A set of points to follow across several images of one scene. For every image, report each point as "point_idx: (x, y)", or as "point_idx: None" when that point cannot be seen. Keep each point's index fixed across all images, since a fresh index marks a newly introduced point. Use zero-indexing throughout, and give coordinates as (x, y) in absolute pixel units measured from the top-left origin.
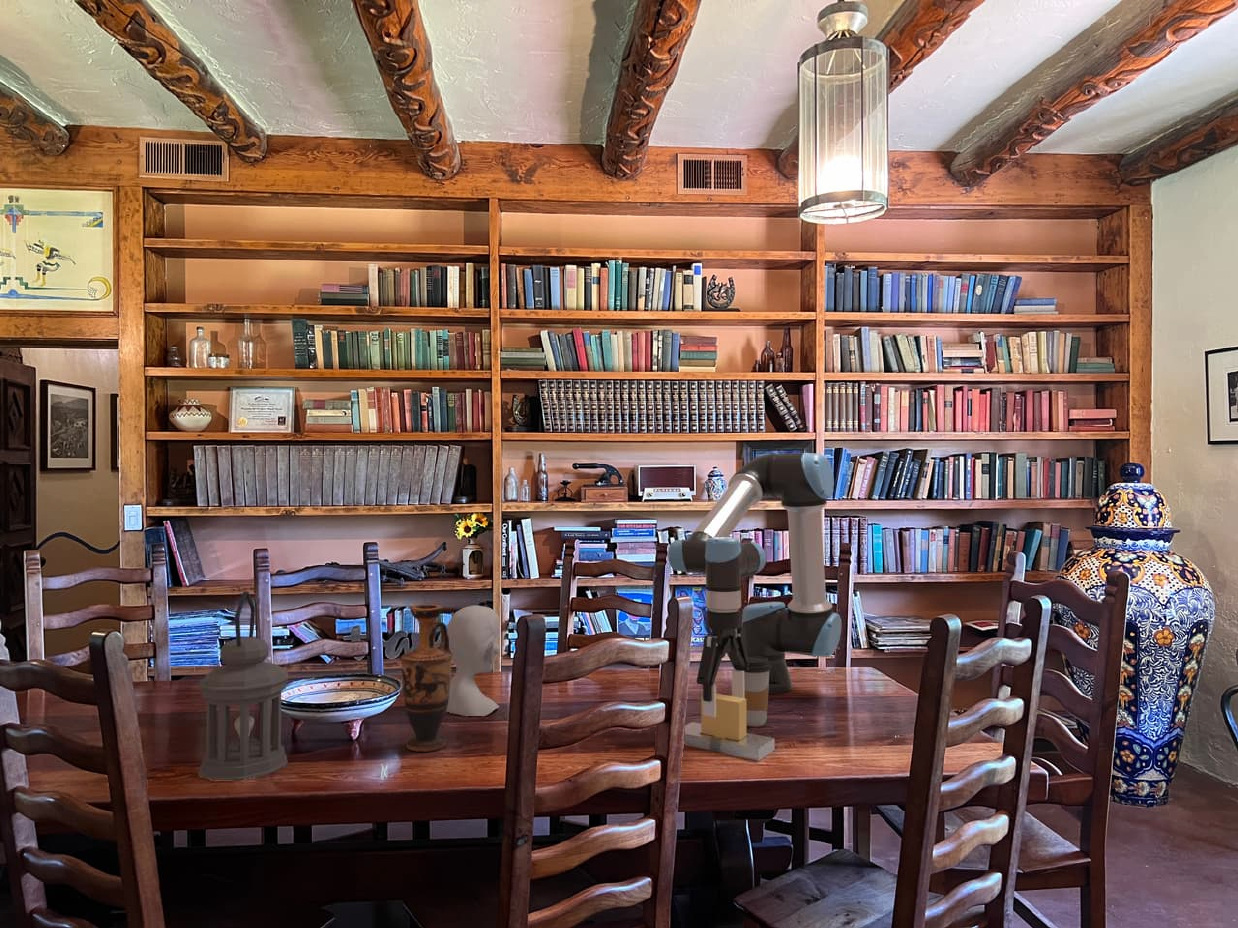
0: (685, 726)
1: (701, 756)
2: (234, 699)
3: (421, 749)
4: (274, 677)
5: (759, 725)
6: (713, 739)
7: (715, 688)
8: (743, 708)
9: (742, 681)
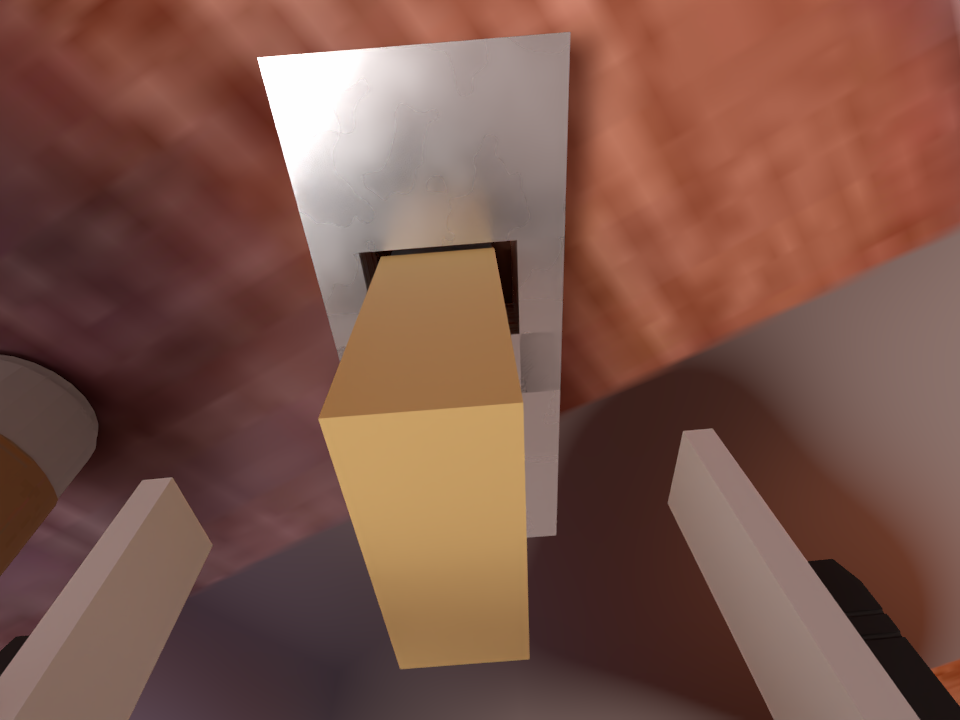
0: None
1: (648, 340)
2: None
3: None
4: None
5: (24, 361)
6: (559, 369)
7: (857, 689)
8: (411, 357)
9: (53, 665)
